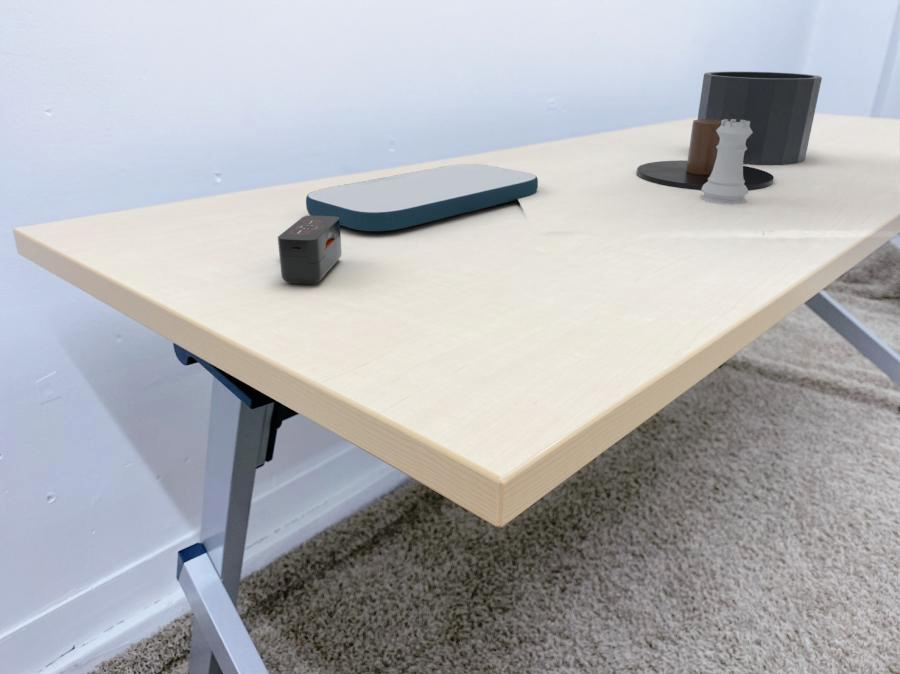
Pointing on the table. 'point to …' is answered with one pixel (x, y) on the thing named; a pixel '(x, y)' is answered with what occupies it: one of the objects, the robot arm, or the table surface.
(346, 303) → the table surface
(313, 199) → the grey flat rounded slab
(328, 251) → the dark grey box
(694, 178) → the lid
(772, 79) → the pot
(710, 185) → the rook chess piece
